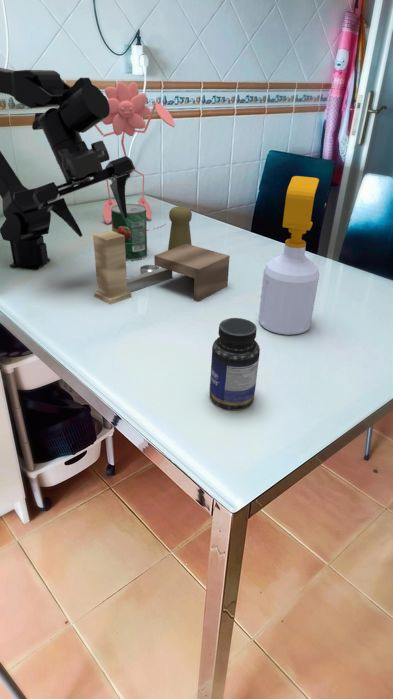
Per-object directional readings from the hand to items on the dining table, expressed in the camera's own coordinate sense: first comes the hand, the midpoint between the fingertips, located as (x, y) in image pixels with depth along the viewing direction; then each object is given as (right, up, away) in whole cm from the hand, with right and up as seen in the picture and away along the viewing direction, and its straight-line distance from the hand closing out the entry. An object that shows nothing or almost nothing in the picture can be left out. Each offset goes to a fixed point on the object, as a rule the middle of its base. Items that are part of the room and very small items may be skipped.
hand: (103, 227), depth 89 cm
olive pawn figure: (+13, 0, +24) cm, 28 cm away
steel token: (+7, -8, +12) cm, 16 cm away
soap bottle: (+33, -19, -5) cm, 38 cm away
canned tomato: (+2, -1, +23) cm, 23 cm away
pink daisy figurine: (-1, +12, +44) cm, 46 cm away
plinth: (+16, -10, +8) cm, 21 cm away
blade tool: (+6, -10, +6) cm, 14 cm away
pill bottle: (+22, -30, -24) cm, 44 cm away
